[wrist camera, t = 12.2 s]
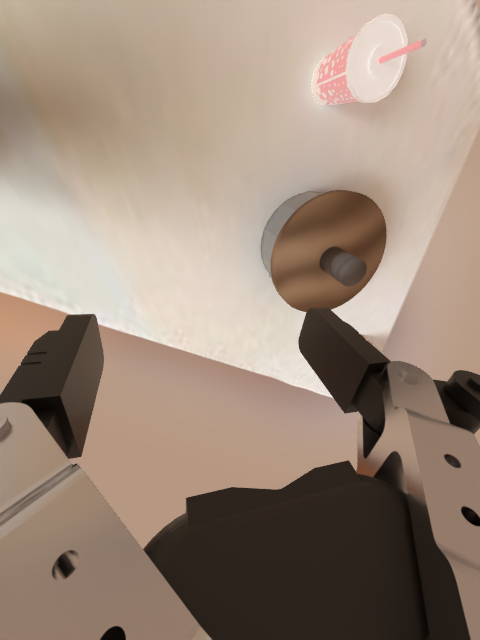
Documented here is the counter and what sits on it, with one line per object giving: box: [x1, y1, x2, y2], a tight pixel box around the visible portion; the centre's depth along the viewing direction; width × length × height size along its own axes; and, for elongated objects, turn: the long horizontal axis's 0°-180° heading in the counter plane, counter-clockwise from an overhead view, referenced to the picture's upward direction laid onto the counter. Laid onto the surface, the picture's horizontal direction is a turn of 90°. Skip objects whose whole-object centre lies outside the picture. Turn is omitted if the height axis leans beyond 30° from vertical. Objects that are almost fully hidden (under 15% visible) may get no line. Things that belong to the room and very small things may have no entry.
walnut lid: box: [271, 190, 386, 312], centre depth 34 cm, size 17×17×6 cm
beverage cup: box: [311, 14, 426, 106], centre depth 26 cm, size 6×6×14 cm
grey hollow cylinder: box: [261, 192, 323, 278], centre depth 40 cm, size 15×15×7 cm
